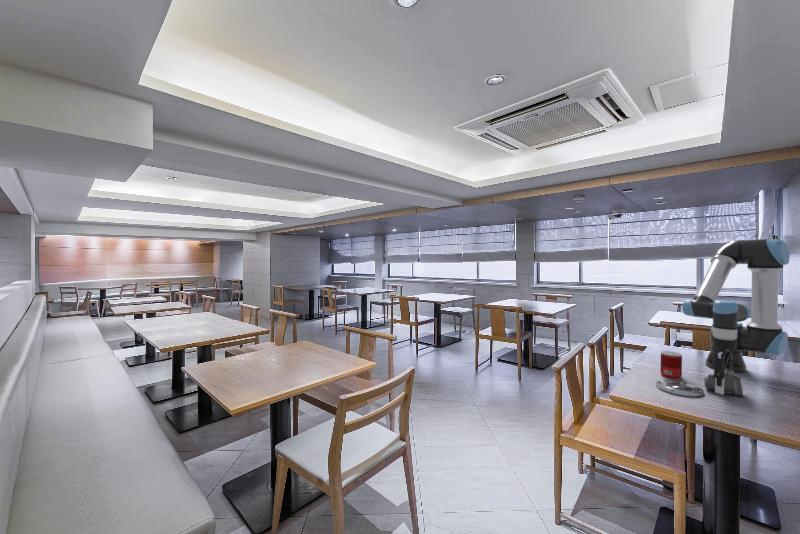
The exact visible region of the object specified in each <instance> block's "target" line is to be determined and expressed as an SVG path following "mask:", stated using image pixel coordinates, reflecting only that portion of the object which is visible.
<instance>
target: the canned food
mask: <svg viewBox="0 0 800 534" xmlns="http://www.w3.org/2000/svg"><path fill="white" fill-rule="evenodd" d="M682 368H683V354H681V353H680V352H676V351H670V350H669V351H667V350H663V351H661V353H660V374H661V376H662V377H664V378H667V379H673V380H674V379H675V380H676V379H682V375H683V374H682V370H683V369H682Z"/></svg>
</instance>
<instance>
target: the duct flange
mask: <svg viewBox="0 0 800 534" xmlns="http://www.w3.org/2000/svg"><path fill="white" fill-rule="evenodd" d="M655 387H656V388H657V389H658V390H660V391H662V392H665V393H667V394H670V395H676V396H679V397H680V396H681V397H688V398H699V397H703V396H704V390H703V388H701V387H699V386H697V385H695V384H692V383H688V382H686V381H680V380H674V379H673V380H672V379H662V380H656V382H655Z"/></svg>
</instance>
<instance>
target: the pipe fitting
mask: <svg viewBox="0 0 800 534" xmlns="http://www.w3.org/2000/svg"><path fill="white" fill-rule="evenodd" d="M734 374H735V372H734V371H733V370H731V369H727V368H725V372H724V393H732V394H733V395H735V396H736V397H744V389H745V388H744V383H743V380H742V376H740V375H734ZM713 375H714V372H710V373H708V374H707V375H705V377H704V379H703V381H704V387H705V389H706V390H708V391H714V392H715V377H713ZM718 375H719V374H718Z"/></svg>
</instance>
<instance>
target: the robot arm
mask: <svg viewBox="0 0 800 534" xmlns="http://www.w3.org/2000/svg"><path fill="white" fill-rule="evenodd" d="M790 257H791V255H790V251H789V247H788V245H787V243H786V242H785V241H784V239H783V240H782V239H780V238H779V239H778V238H777V239H776V238H775V239H774V238H765V239H738V240H733V241H730V242H729V243H726V244H724V245H723V246H722V247H720V248H719V249H717V251H715V253H714V254H712V256H711V259H710V266H709V267H708V269H707V271H706V273H705V276H704V278H702V281H701V283H700V285H699V287H698V289H697V290H696V293H695V295H694V297H693V298H692V299H686V300H685V301H683V303H682V306H681V307H682V308H681V309H682V312H683V315H685V316H689V317H694V318H705V319H712V324H711V327H710V350H709V353H708V354H707V357H706V359H705V365H706V367H708V368H711V369H714V370H713V373H714V375H713V377H715V391H714V393H716V394H719V395H722V396H723V395H725V392H724V372H725V368H727V369H731V370H733V371H734V373H745V372H746V371H747V364H746V362H745V360H744V357H743V355H742V353H743V352H742V351H745V352H749V353H755V354H762V355H765V356H772V357H773V356H774V357H779V356H781V355H783V354H784V352H785V350H786V348H787V345H788V340H789V336H788V335H789V334H788V333H787V332H786V331H783V326H782V325H780V324H779V323H778V311H779V310H778V308H779V299H778V298H779V273H780V272H781V271H782V270H783V269H784V266H785V265H786V266H787V265H788V264H789V263H790ZM741 264H742V265H747V266H746V267H747V269H748V270H750V271H751V305H750V306H751V310H750V308H749V307H748V306H747V305H745V304H743V303H737V302H736V301H729V300H717V298H718V297H719V294H720V292H721V290H722V289H723V286H724V284H725V282H726V279H727V278H728V276H729V274H730V273H731V270H733V269H734V268H735V269H736V266H737V265H741ZM749 318H751V320H750V321H749V322H748V323H746V326H744V324H743V323H741V322H745V321H746V320H748V319H749ZM718 374H719V375H718Z"/></svg>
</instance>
